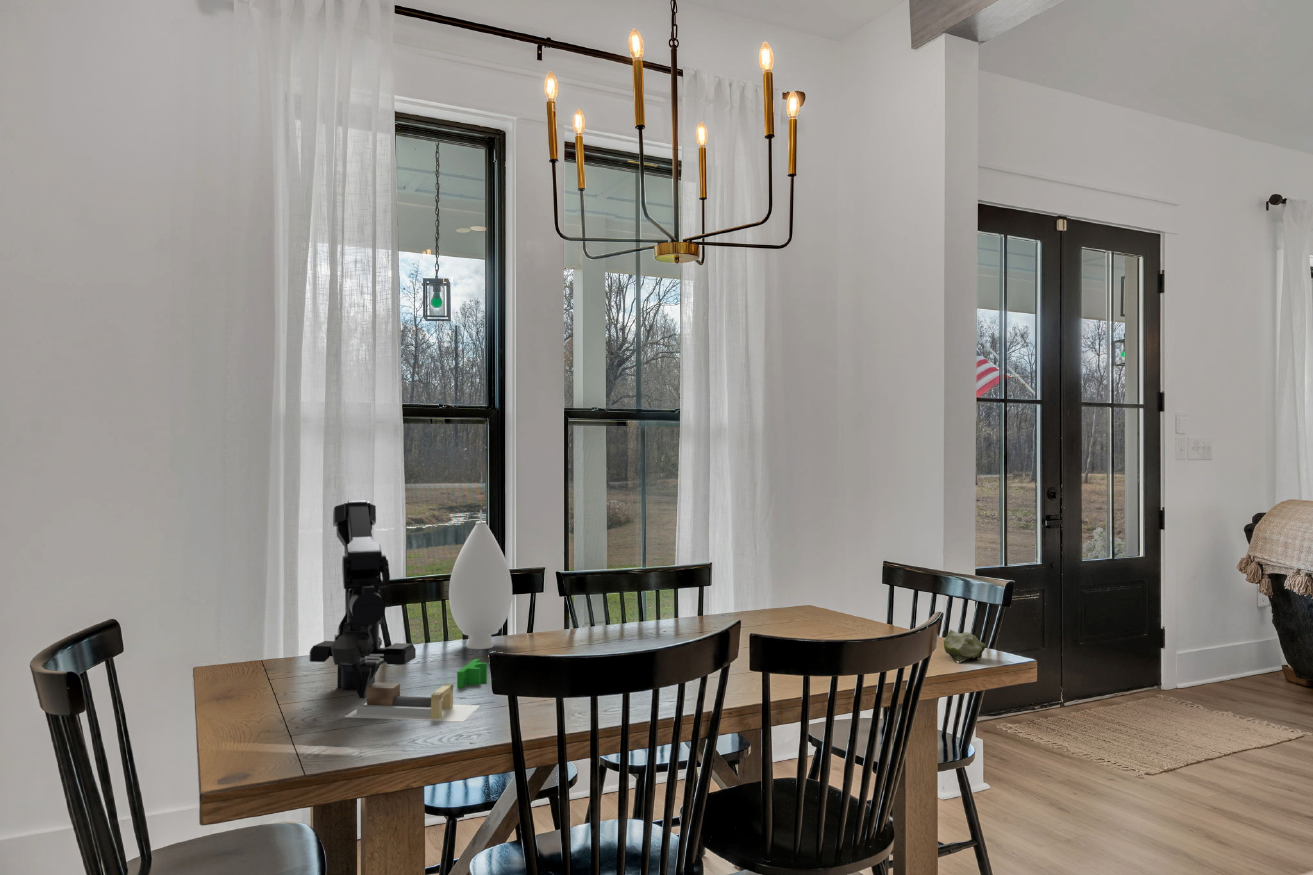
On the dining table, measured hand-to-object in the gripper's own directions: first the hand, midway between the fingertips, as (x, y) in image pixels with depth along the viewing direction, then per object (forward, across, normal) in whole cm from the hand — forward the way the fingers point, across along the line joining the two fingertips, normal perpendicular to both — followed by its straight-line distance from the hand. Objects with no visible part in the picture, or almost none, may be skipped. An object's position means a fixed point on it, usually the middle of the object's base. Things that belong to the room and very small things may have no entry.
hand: (362, 698), depth 164 cm
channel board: (+3, +10, 0) cm, 11 cm away
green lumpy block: (+3, +124, +61) cm, 138 cm away
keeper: (+2, +4, 0) cm, 5 cm away
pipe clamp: (+3, +14, +22) cm, 27 cm away
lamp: (+3, +4, +58) cm, 58 cm away
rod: (+2, +10, 0) cm, 10 cm away
